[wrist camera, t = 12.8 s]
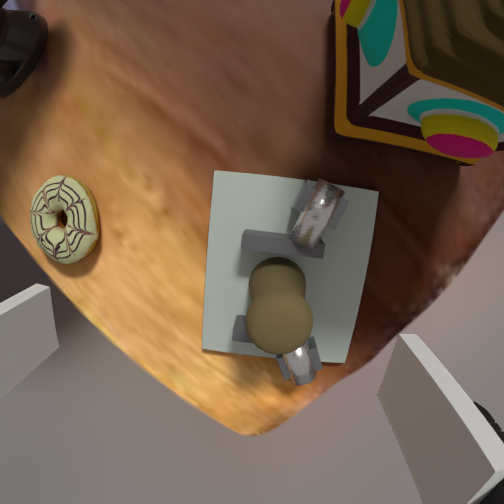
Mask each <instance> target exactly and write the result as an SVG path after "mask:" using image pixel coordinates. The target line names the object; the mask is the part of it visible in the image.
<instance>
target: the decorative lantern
mask: <svg viewBox="0 0 504 504" xmlns="http://www.w3.org/2000/svg"><path fill="white" fill-rule="evenodd" d="M331 12H332V14H333V15H334V92H333V117H332V125H331V127H330V130H329V135H330V137H331V138H332V139H335V140H338V139H343V138H344V139H355V140H361V141H366V142H372V143H378V144H383V145H388V146H393V147H398V148H403V149H407V150H412V151H416V152H421V153H425V154H429V155H433V156H437V157H441V158H445V159H448V160H452V161H455V162H456V163H457V164H458V165H460V166H472V165H474V164H476V163H477V161H478V160H479V158H483V157H488V156H489V155H491V154H493V153H494V151H502V150H504V0H333V3H332V6H331Z"/></svg>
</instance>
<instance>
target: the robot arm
mask: <svg viewBox="0 0 504 504" xmlns="http://www.w3.org/2000/svg"><path fill="white" fill-rule="evenodd" d="M7 1H8V0H0V98H1V97H5V96H7V95H9V94H10V93H12V92H13V91H14V90H15V89H17V88H18V87H19V86H20V85H21V84H22V82H23V81H24V80H25V79H26V78H27V76H28V75H29V73H30V72H31V70H32V69H33V67H34V66H35V64H36V62H37V60H38V58H39V57H40V54H41V52H42V50H43V47H44V44H45V41H46V37H47V30H48V27H47V22H46V20H45V18H44V17H42V16H41V15H39V14H37V13H35V12H32V11H21V10H6V9H4V8H2V6H3V5H4V4H5V3H6V2H7ZM57 348H59V345H58V340H57V334H56V329H55V323H54V316H53V310H52V302H51V294H50V287H48V286H43V285H40V284H35V285H33V286H31V287H30V288H28V289H26V290H24V291H22V292H20V293H18V294H16V295H15V296H13V297H11V298H9V299H7V300H5V301H3V302H2V303H0V401H1V400H2V399H3V398H4V397H5V396H6V395H7V394H8V393H9V392H10V391H11V390H12V389H13V388H14V387H16V386H17V385H18V384H19V383H20V382H21V381H22V380H23V379H24V378H25V377H26V376H27V375H28V374H30V373H31V372H32V371H33V370H34V369H35V368H36V367H37V366H38V365H39V364H41V363H42V362H43V361H44V360H45V359H46V358H47V357H48V356H50V355H51V354H52V353H53V352H54V351H55V350H56V349H57ZM377 396H378V398H379V400H380V402H381V404H382V407H383V409H384V411H385V413H386V416H387V418H388V420H389V422H390V424H391V427H392V429H393V432H394V434H395V436H396V439H397V441H398V443H399V446H400V448H401V450H402V453H403V455H404V457H405V460H406V462H407V465H408V467H409V470H410V472H411V475H412V477H413V480H414V482H415V485H416V487H417V490H418V493H419V495H420V498H421V500H422V503H423V504H504V432H503V431H502V432H501V428H500V427H499V425H498V424H497V423H495V420H494V419H493V418H492V416H491V415H490V414H489V412H488V411H487V410H486V409H484V408H483V407H482V406H480V405H479V404H478V403H476V402H472V401H471V399H470V398H469V397H468V395H467V394H466V393H465V392H464V391H463V389H462V388H461V387H460V385H459V384H458V383H457V382H456V381H455V379H454V378H453V377H452V376H451V374H450V373H449V372H448V371H447V370H446V368H445V367H444V366H443V365H442V364H441V362H440V361H439V360H438V359H437V358H436V357H435V355H434V354H433V353H432V352H431V351H430V349H429V348H428V347H427V346H426V345H425V344H424V342H423V341H422V340H421V339H420V338H419V337H418V336H417V335H416V334H398V337H397V340H396V344H395V347H394V350H393V353H392V355H391V358H390V361H389V364H388V367H387V370H386V372H385V375H384V378H383V380H382V383H381V386H380V388H379V391H378V394H377Z"/></svg>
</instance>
